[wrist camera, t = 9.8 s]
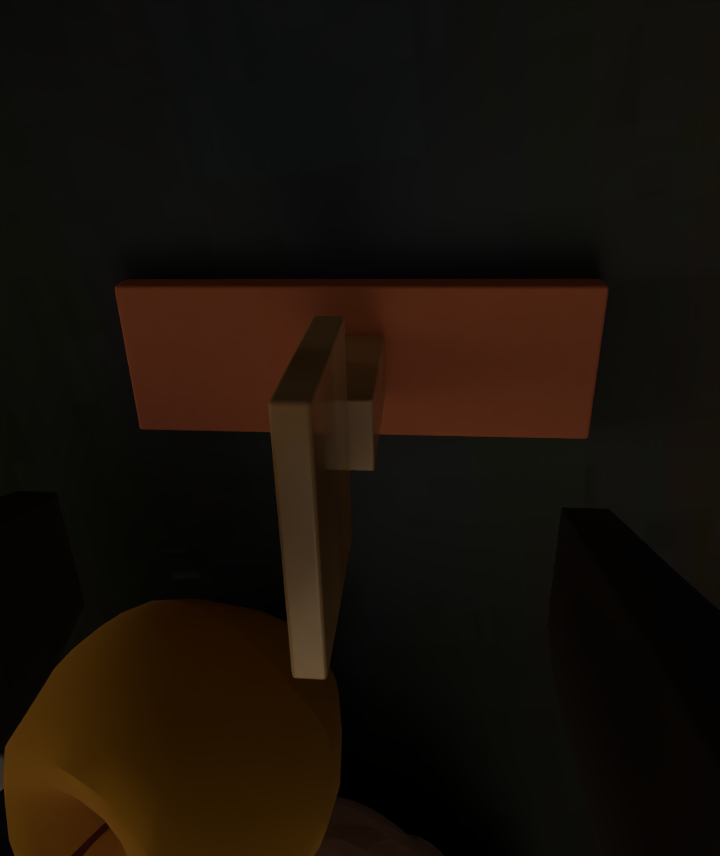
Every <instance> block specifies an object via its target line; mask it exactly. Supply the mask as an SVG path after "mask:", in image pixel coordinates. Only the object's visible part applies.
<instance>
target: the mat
mask: <svg viewBox="0 0 720 856" xmlns="http://www.w3.org/2000/svg"><path fill="white" fill-rule="evenodd" d="M608 290H609V288H608V286H607V285H606V284H605V283H604V282H603V280H601V279H127V280H125V281H123V282H121V283H120V284H118V285H116V286H115V293H116V299H117V304H118V310H119V315H120V321H121V326H122V332H123V337H124V343H125V348H126V354H127V359H128V365H129V370H130V376H131V381H132V387H133V392H134V398H135V403H136V409H137V414H138V420H139V425H140V428H141V429H146V430H195V431H244V432H270V423H269V412H268V402H269V400H270V398H271V396H272V394H273V392H274V390H275V389H276V387H277V385H278V383H279V381H280V379H281V377H282V375H283V373H284V371H285V370H286V368H287V366H288V364H289V362H290V360H291V358H292V356H293V354H294V352H295V351H296V349H297V347H298V345H299V343H300V341H301V339H302V337H303V335H304V333H305V332H306V330H307V328H308V326H309V324H310V322H311V320H312V318H313V317H314V316H342V317H343V318H344V322H345V336H384V337H385V400H384V407H383V413H382V420H381V427H380V434H391V435H440V436H489V437H538V438H587V437H588V435H589V428H590V420H591V413H592V406H593V399H594V391H595V384H596V377H597V370H598V362H599V355H600V348H601V341H602V333H603V326H604V319H605V312H606V305H607V297H608Z"/></svg>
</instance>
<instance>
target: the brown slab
mask: <svg viewBox="0 0 720 856" xmlns="http://www.w3.org/2000/svg"><path fill="white" fill-rule="evenodd" d="M384 400H385V337H384V336H345V322H344V318H343V317H342V316H314V317H313V318H312V320H311V322H310V324H309V326H308V328H307V330H306V332H305V333H304V335H303V337H302V339H301V341H300V343H299V345H298V347H297V349H296V351H295V352H294V354H293V356H292V358H291V360H290V362H289V364H288V366H287V368H286V370H285V371H284V373H283V375H282V377H281V379H280V381H279V383H278V385H277V387H276V389H275V390H274V392H273V394H272V396H271V398H270V400H269V402H268V412H269V423H270V434H271V445H272V456H273V468H274V479H275V490H276V501H277V512H278V524H279V535H280V546H281V557H282V568H283V579H284V591H285V602H286V613H287V624H288V635H289V647H290V658H291V669H292V675H293V677H294V678H303V679H321V680H323V679H326V678H327V676H328V672H329V666H330V660H331V654H332V649H333V643H334V637H335V632H336V626H337V620H338V615H339V609H340V603H341V597H342V592H343V586H344V580H345V575H346V569H347V563H348V558H349V552H350V546H351V540H352V529H351V499H350V470H374V467H375V461H376V454H377V447H378V440H379V434H380V427H381V420H382V413H383V407H384Z"/></svg>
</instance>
